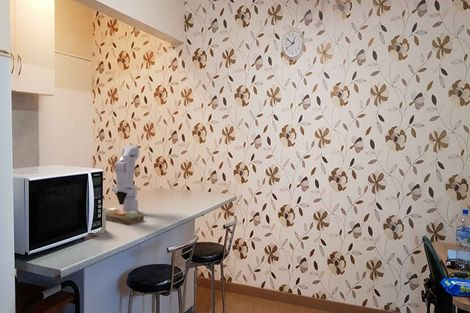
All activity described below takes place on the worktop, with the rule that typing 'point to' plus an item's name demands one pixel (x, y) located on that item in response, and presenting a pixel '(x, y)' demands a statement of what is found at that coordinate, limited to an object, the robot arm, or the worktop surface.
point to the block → (131, 214)
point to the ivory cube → (112, 210)
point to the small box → (103, 221)
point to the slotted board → (124, 219)
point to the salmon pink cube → (120, 213)
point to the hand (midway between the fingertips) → (121, 204)
